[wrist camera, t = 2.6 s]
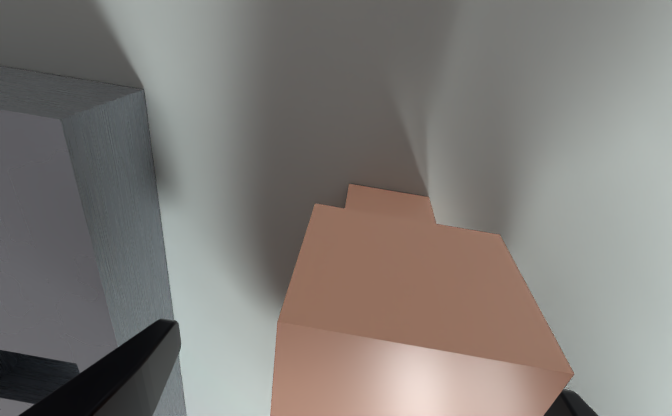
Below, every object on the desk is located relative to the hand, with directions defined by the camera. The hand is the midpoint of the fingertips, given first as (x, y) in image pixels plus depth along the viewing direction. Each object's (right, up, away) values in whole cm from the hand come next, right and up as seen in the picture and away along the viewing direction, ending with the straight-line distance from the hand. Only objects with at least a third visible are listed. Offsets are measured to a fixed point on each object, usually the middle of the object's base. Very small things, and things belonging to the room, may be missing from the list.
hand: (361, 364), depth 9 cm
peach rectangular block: (0, +1, +2) cm, 2 cm away
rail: (-9, -2, +5) cm, 11 cm away
